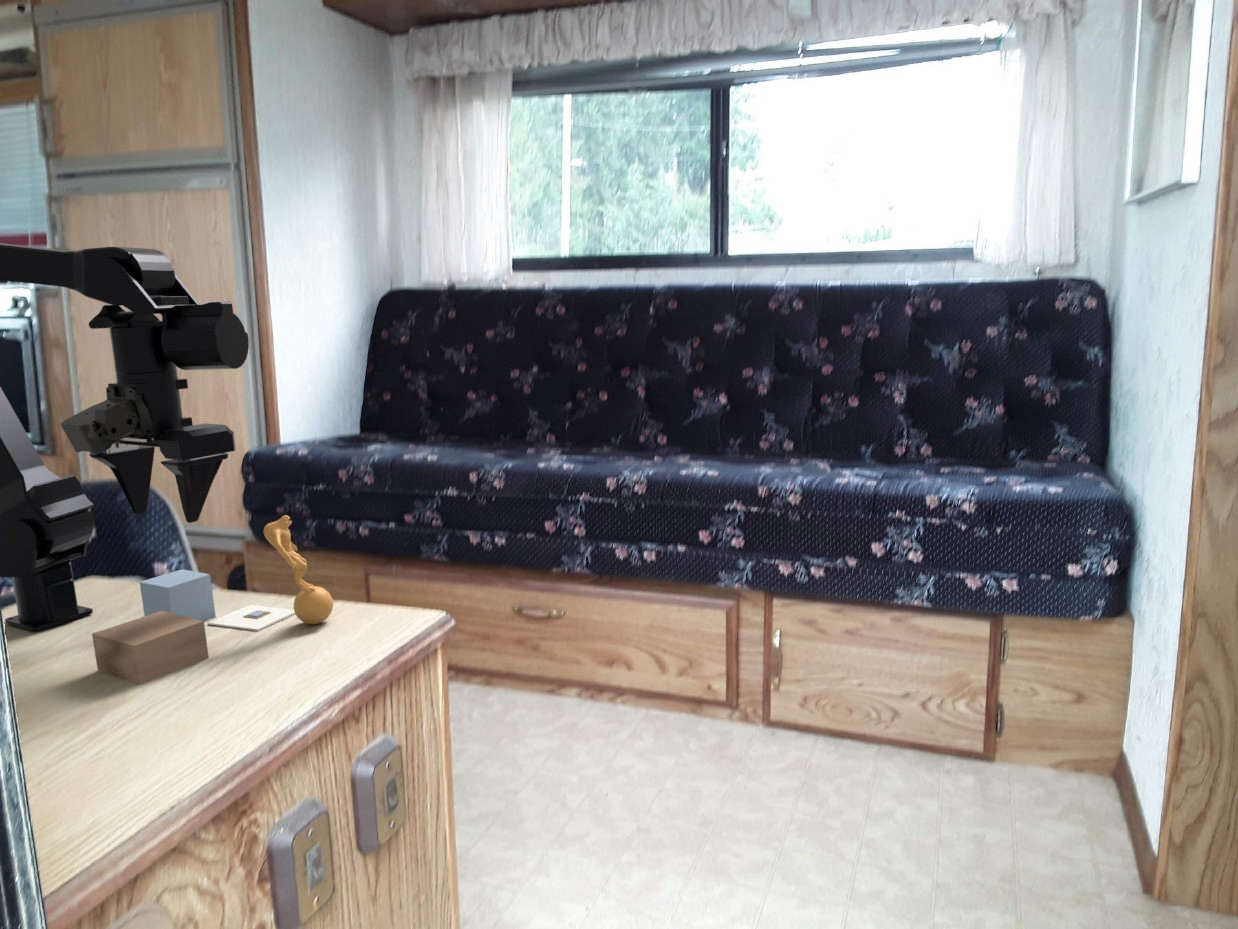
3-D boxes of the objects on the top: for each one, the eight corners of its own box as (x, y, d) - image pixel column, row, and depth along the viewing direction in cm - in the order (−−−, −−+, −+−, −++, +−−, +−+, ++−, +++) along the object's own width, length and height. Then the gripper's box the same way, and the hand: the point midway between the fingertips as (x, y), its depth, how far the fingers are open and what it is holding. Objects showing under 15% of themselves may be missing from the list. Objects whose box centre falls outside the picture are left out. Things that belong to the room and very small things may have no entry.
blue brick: (146, 626, 102) (139, 582, 101) (187, 612, 106) (181, 569, 105) (174, 633, 99) (168, 587, 98) (215, 618, 103) (210, 574, 102)
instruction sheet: (208, 624, 101) (207, 621, 101) (249, 606, 106) (249, 603, 106) (258, 631, 98) (257, 627, 98) (298, 612, 103) (298, 608, 103)
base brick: (98, 673, 89) (91, 633, 88) (167, 648, 95) (161, 610, 94) (140, 687, 85) (133, 645, 85) (209, 660, 91) (203, 621, 90)
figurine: (337, 632, 96) (324, 519, 94) (275, 642, 94) (261, 526, 92) (332, 608, 104) (321, 503, 102) (275, 617, 102) (262, 509, 100)
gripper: (17, 377, 95) (40, 527, 98) (124, 380, 86) (146, 546, 89) (123, 368, 105) (141, 504, 108) (229, 369, 95) (247, 519, 98)
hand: (165, 517), depth 100 cm, fingers open, 9 cm apart
